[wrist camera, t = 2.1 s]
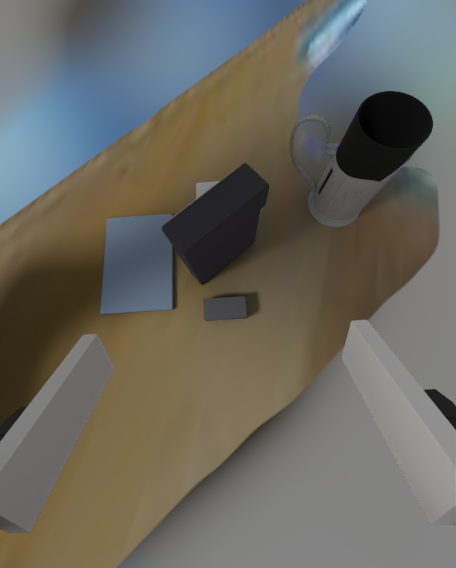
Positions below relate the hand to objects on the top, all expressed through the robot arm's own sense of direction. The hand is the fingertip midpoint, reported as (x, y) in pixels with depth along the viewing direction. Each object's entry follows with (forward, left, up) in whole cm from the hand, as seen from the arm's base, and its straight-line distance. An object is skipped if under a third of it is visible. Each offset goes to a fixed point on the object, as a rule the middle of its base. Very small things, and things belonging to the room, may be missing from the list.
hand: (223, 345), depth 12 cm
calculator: (-1, +13, -22) cm, 26 cm away
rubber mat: (-14, +13, -22) cm, 29 cm away
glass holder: (+16, +22, -22) cm, 35 cm away
